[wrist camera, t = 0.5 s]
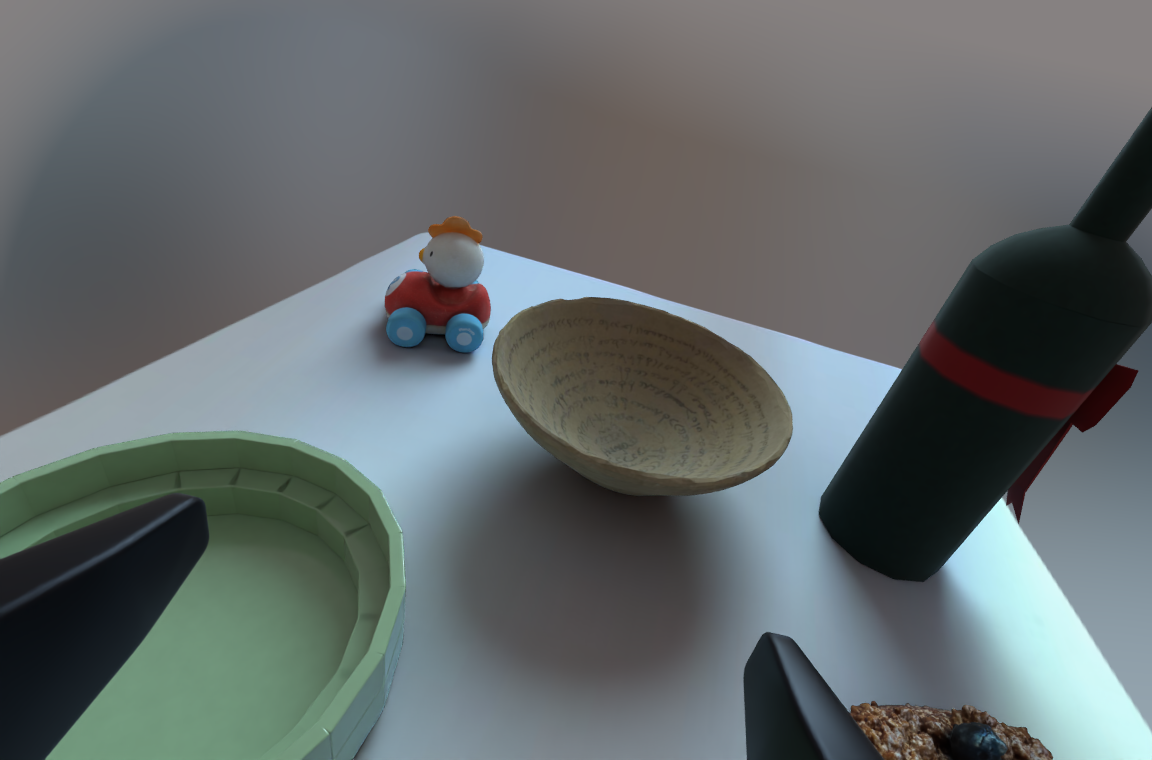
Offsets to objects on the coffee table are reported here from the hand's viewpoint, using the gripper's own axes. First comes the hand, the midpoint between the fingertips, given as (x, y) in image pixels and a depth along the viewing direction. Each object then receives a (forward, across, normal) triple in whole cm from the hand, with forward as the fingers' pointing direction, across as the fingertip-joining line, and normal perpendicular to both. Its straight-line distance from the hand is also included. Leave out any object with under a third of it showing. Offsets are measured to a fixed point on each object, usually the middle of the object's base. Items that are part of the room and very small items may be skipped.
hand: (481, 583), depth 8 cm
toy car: (+37, +12, +13) cm, 41 cm away
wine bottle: (+24, -24, +14) cm, 37 cm away
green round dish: (+7, +12, +16) cm, 21 cm away
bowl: (+24, -5, +14) cm, 29 cm away
